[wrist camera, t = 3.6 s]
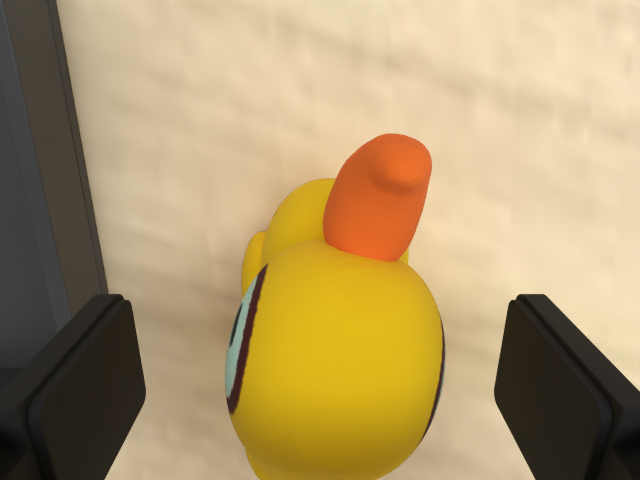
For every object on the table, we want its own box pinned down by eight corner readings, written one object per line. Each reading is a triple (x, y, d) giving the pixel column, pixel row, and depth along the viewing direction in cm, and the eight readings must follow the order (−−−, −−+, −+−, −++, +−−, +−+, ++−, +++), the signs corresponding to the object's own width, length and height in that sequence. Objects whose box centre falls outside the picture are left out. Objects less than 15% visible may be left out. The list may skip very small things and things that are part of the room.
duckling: (285, 84, 15) (226, 103, 6) (438, 123, 16) (615, 201, 6) (227, 363, 19) (136, 647, 10) (352, 389, 19) (380, 684, 10)
